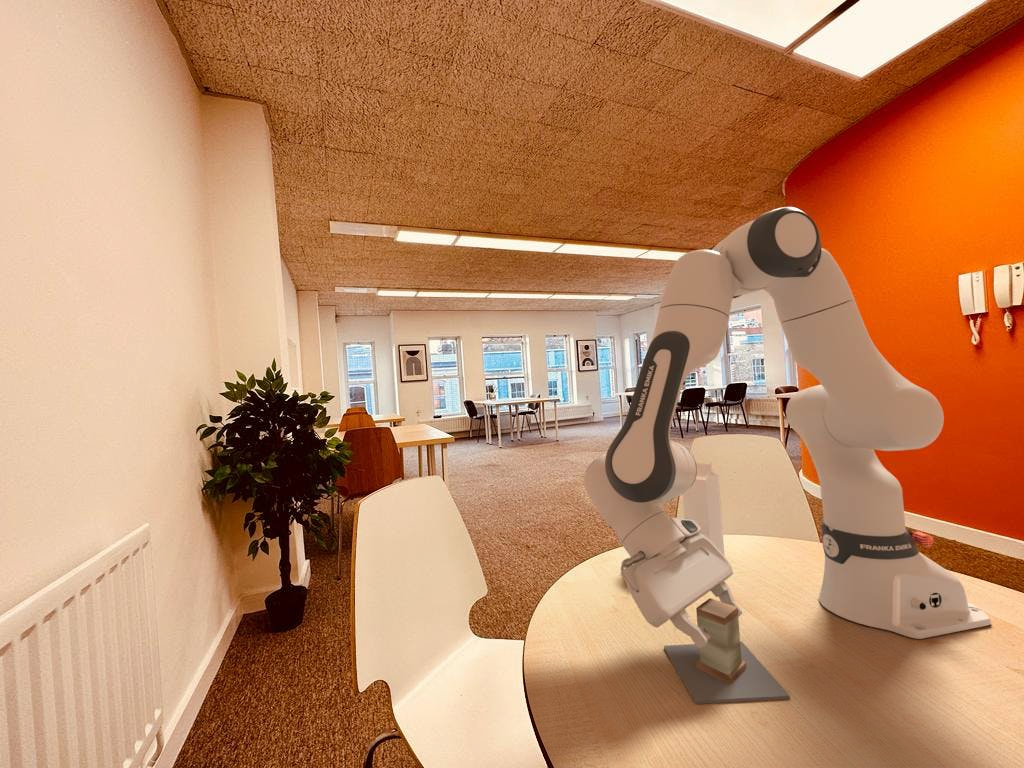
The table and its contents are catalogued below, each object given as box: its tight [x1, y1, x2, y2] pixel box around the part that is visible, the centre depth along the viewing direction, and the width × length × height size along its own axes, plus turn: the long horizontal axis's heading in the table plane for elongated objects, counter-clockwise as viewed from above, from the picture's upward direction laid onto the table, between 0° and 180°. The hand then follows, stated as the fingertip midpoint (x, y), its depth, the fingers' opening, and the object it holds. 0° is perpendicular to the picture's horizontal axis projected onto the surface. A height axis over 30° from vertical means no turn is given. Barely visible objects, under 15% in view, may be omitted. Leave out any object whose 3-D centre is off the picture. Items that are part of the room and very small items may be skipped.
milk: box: [682, 462, 726, 557], centre depth 101 cm, size 6×6×22 cm
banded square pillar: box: [695, 597, 746, 684], centre depth 61 cm, size 5×5×8 cm
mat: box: [663, 640, 791, 705], centre depth 61 cm, size 12×12×1 cm
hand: (722, 630), depth 61 cm, fingers open, 8 cm apart
